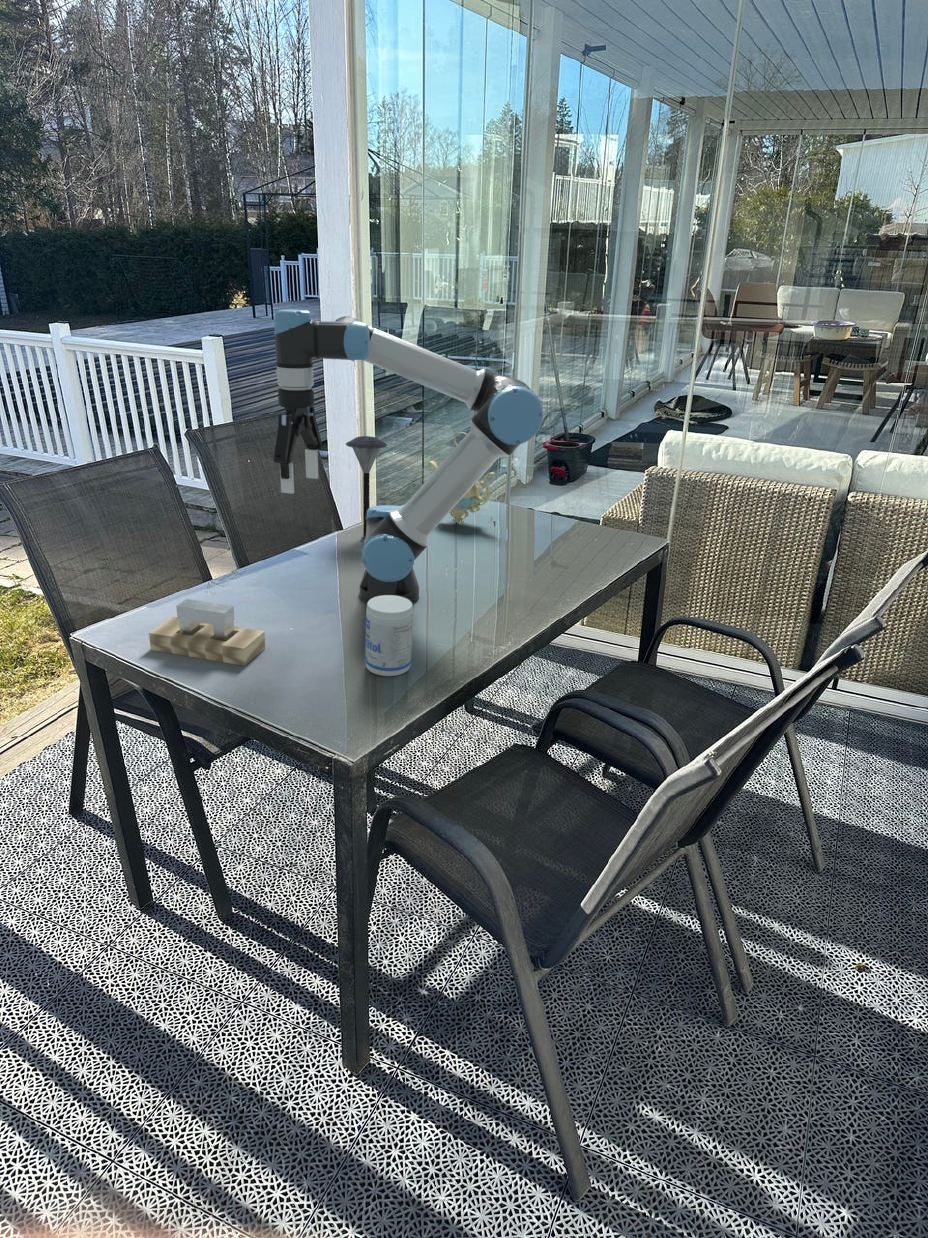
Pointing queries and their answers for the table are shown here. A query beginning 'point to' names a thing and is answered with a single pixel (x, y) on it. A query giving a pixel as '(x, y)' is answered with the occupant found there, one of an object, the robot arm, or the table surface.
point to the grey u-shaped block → (206, 618)
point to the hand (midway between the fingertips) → (300, 485)
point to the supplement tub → (388, 635)
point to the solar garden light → (366, 465)
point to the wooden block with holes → (208, 643)
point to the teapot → (469, 496)
